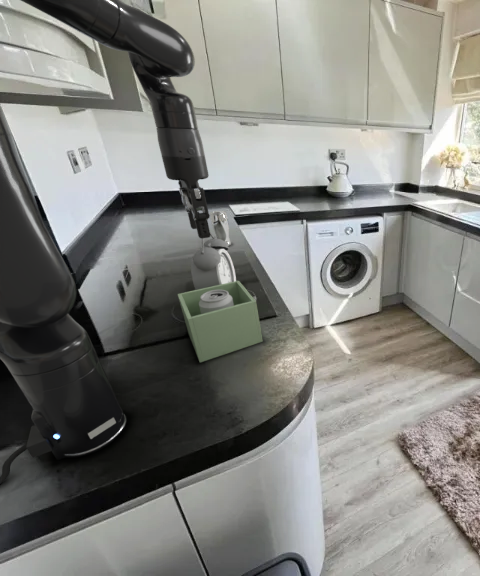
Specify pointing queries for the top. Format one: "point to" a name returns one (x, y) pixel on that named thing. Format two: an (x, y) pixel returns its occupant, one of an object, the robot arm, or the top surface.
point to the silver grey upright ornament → (220, 225)
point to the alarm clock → (212, 264)
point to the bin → (221, 322)
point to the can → (215, 301)
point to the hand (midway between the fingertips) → (200, 232)
